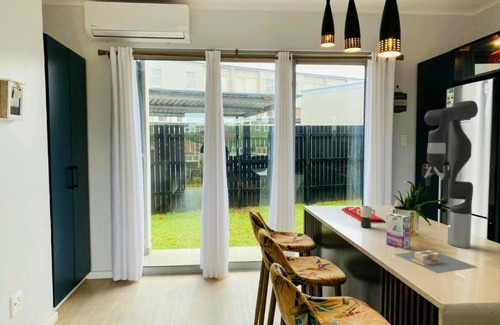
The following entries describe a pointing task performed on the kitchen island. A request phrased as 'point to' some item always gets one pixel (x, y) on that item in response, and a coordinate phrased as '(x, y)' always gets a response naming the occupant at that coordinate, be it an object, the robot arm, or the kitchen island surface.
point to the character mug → (365, 215)
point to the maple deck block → (426, 256)
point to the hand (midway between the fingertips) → (435, 186)
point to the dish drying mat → (353, 213)
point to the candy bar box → (398, 230)
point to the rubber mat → (439, 263)
